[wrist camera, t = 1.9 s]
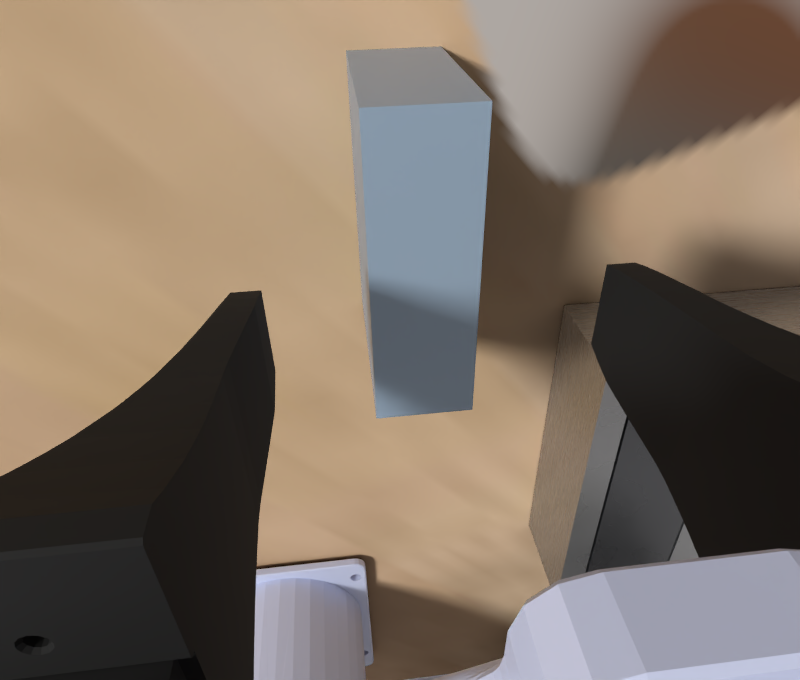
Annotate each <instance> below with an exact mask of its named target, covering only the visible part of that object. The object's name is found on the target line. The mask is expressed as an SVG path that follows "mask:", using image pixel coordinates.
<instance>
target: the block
mask: <svg viewBox="0 0 800 680" xmlns="http://www.w3.org/2000/svg"><path fill="white" fill-rule="evenodd" d="M346 58H347V73H348V88H349V104H350V119H351V134H352V149H353V165H354V180H355V195H356V210H357V226H358V241H359V256H360V271H361V287H362V302H363V310H364V319H365V327H366V335H367V343H368V352H369V360H370V368H371V376H372V385H373V393H374V401H375V409H376V418H386V417H397V416H408V415H419V414H429V413H440V412H451V411H462V410H472V406H473V391H474V376H475V360H476V345H477V330H478V314H479V299H480V284H481V268H482V253H483V238H484V222H485V207H486V192H487V176H488V161H489V146H490V130H491V115H492V100H491V99H490V98H489V97H488V96H487V95H486V94H485V93H484V92H483V91H482V89H481V88H480V87H479V86H478V85H477V84H476V83H475V82H474V81H473V80H472V79H471V78H470V77H469V76H468V75H467V74H466V72H465V71H464V70H463V69H462V68H461V67H460V66H459V65H458V64H457V63H456V62H455V61H454V60H453V59H452V58H451V57H450V56H449V54H448V53H447V52H446V51H445V50H444V49H443V48H442V47H418V48H395V49H372V50H349V51H346Z"/></svg>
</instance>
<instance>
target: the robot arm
mask: <svg viewBox="0 0 800 680" xmlns="http://www.w3.org/2000/svg"><path fill="white" fill-rule="evenodd" d="M591 345H592V348H593V350H594V353H595V356H596V358H597V361H598V363H599V366H600V368H601V370H602V373H603V375H604V377H605V380H606V382H607V384H608V385H609V387H610V389H611V391H612V392H613V394H614V396H615V397H616V399H617V401H618V402H619V404H620V406H621V407H622V409H623V411H624V412H625V414H626V416H627V417H628V419H629V421H630V422H631V424H632V426H633V427H634V429H635V430H636V432H637V434H638V435H639V437H640V439H641V440H642V442H643V444H644V445H645V447H646V448H647V450H648V452H649V453H650V455H651V457H652V458H653V460H654V462H655V463H656V465H657V467H658V469H659V471H660V473H661V474H662V476H663V478H664V480H665V482H666V484H667V486H668V489H669V491H670V493H671V495H672V497H673V499H674V502H675V504H676V506H677V508H678V510H679V512H680V515H681V517H682V519H683V521H684V524H685V526H686V528H687V531H688V533H689V536H690V538H691V540H692V543H693V545H694V547H695V550H696V552H697V555H698V557H699V558H693V559H684V560H676V561H667V562H659V563H650V564H641V565H633V566H624V567H616V568H607V569H598V570H595V571H591V572H587V573H583V574H580V575H576V576H572V577H568V578H565V579H561V580H558V581H556V582H555V583H553V584H552V585H550V586H548V587H547V588H545V589H544V590H542V591H540V592H539V593H537V594H536V595H534V596H533V597H531V598H529V599H528V600H527V601H526V602H525V604H524V605H523V607H522V608H521V610H520V612H519V613H518V615H517V617H516V618H515V620H514V622H513V623H512V625H511V626H510V628H509V630H508V633H507V639H506V646H505V652H504V656H503V658H501V659H497V660H494V661H490V662H487V663H484V664H481V665H477V666H474V667H471V668H468V669H464V670H461V671H458V672H455V673H451V674H444V675H436V676H428V677H420V678H413V679H405V680H800V335H797V334H795V333H792V332H789V331H787V330H784V329H781V328H779V327H776V326H774V325H771V324H769V323H767V322H764V321H762V320H760V319H757V318H755V317H753V316H750V315H748V314H746V313H743V312H741V311H739V310H737V309H734V308H732V307H730V306H728V305H726V304H724V303H722V302H719V301H717V300H715V299H713V298H711V297H709V296H707V295H705V294H703V293H701V292H699V291H697V290H695V289H693V288H691V287H689V286H686V285H684V284H682V283H680V282H678V281H676V280H674V279H672V278H670V277H668V276H666V275H664V274H662V273H659V272H657V271H655V270H653V269H650V268H648V267H646V266H643V265H640V264H637V263H625V264H612V265H607V268H606V272H605V277H604V282H603V287H602V292H601V297H600V302H599V307H598V312H597V317H596V322H595V327H594V332H593V337H592V342H591ZM274 412H275V366H274V361H273V355H272V349H271V344H270V338H269V332H268V327H267V321H266V316H265V310H264V304H263V299H262V293H261V291H248V292H235V293H230V294H229V295H228V296H227V297H226V298H225V300H224V301H223V302H222V303H221V304H220V305H219V306H218V308H217V309H216V310H215V311H214V312H213V314H212V315H211V316H210V317H209V318H208V320H207V321H206V322H205V323H204V324H203V326H202V327H201V328H200V329H199V330H198V331H197V332H196V334H195V335H194V336H193V337H192V338H191V339H190V340H189V341H188V342H187V344H186V345H185V346H184V347H183V348H182V349H181V350H180V351H179V352H178V353H177V354H176V355H175V356H174V357H173V358H172V359H171V360H170V361H169V362H168V363H167V364H166V365H165V366H164V367H163V368H162V369H161V370H160V371H159V372H158V373H157V374H156V375H155V376H154V377H152V378H151V379H150V380H149V381H148V382H147V383H146V384H144V385H143V386H142V387H141V388H140V389H139V390H137V391H136V392H135V393H134V394H132V395H131V396H130V397H128V398H127V399H126V400H125V401H123V402H122V403H121V404H120V405H118V406H117V407H116V408H114V409H113V410H111V411H110V412H109V413H107V414H106V415H104V416H103V417H101V418H100V419H98V420H97V421H95V422H94V423H92V424H91V425H89V426H88V427H86V428H85V429H83V430H82V431H80V432H79V433H77V434H76V435H75V436H73V437H71V438H70V439H68V440H66V441H65V442H63V443H61V444H60V445H58V446H56V447H55V448H53V449H51V450H49V451H48V452H46V453H44V454H42V455H40V456H39V457H37V458H35V459H33V460H31V461H30V462H28V463H26V464H24V465H22V466H20V467H18V468H16V469H14V470H13V471H11V472H9V473H7V474H5V475H3V476H0V680H366V672H365V666H369V665H371V664H372V663H373V661H374V657H373V646H372V635H371V623H370V612H369V601H368V589H367V578H366V567H365V562H364V561H363V560H361V559H358V558H354V559H345V560H336V561H327V562H318V563H309V564H300V565H291V566H282V567H273V568H264V569H256V565H257V543H258V522H259V512H260V503H261V496H262V490H263V484H264V477H265V471H266V464H267V458H268V452H269V445H270V439H271V432H272V426H273V419H274Z"/></svg>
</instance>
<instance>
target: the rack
mask: <svg viewBox="0 0 800 680" xmlns="http://www.w3.org/2000/svg"><path fill="white" fill-rule="evenodd" d="M705 295H707V296H709V297H711V298H713V299H715V300H717V301H719V302H722V303H724V304H726V305H728V306H730V307H732V308H734V309H737V310H739V311H741V312H743V313H746V314H748V315H750V316H753V317H755V318H757V319H760V320H762V321H764V322H767V323H769V324H771V325H774V326H776V327H779V328H781V329H784V330H787V331H789V332H792V333H795V334H797V335H800V286H798V287H786V288H773V289H761V290H748V291H736V292H723V293H711V294H705ZM598 307H599V302H598V303H586V304H573V305H564V311H563V317H562V323H561V329H560V336H559V342H558V348H557V354H556V360H555V367H554V373H553V379H552V385H551V391H550V398H549V404H548V410H547V416H546V422H545V429H544V435H543V441H542V447H541V453H540V460H539V466H538V472H537V478H536V484H535V491H534V497H533V503H532V509H531V515H530V522H529V527H530V530H531V532H532V535H533V538H534V541H535V544H536V547H537V550H538V552H539V555H540V558H541V561H542V564H543V567H544V570H545V572H546V575H547V578H548V581H549V584H550V585H552V584H553V583H555V582H556V581H558V580H561V579H565V578H568V577H572V576H576V575H580V574H583V573H587V572H591V571H595V570H598V569H607V568H616V567H624V566H633V565H641V564H650V563H659V562H667V561H676V560H684V559H693V558H699V557H698V555H697V552H696V550H695V547H694V545H693V543H692V540H691V538H690V536H689V533H688V531H687V528H686V526H685V524H684V521H683V519H682V517H681V515H680V512H679V510H678V508H677V506H676V504H675V502H674V499H673V497H672V495H671V493H670V491H669V489H668V486H667V484H666V482H665V480H664V478H663V476H662V474H661V473H660V471H659V469H658V467H657V465H656V463H655V462H654V460H653V458H652V457H651V455H650V453H649V452H648V450H647V448H646V447H645V445H644V444H643V442H642V440H641V439H640V437H639V435H638V434H637V432H636V430H635V429H634V427H633V426H632V424H631V422H630V421H629V419H628V417H627V416H626V414H625V412H624V411H623V409H622V407H621V406H620V404H619V402H618V401H617V399H616V397H615V396H614V394H613V392H612V391H611V389H610V387H609V385H608V384H607V382H606V380H605V377H604V375H603V373H602V370H601V368H600V366H599V363H598V361H597V358H596V356H595V353H594V350H593V348H592V345H591V342H592V337H593V332H594V327H595V322H596V317H597V312H598Z"/></svg>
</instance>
